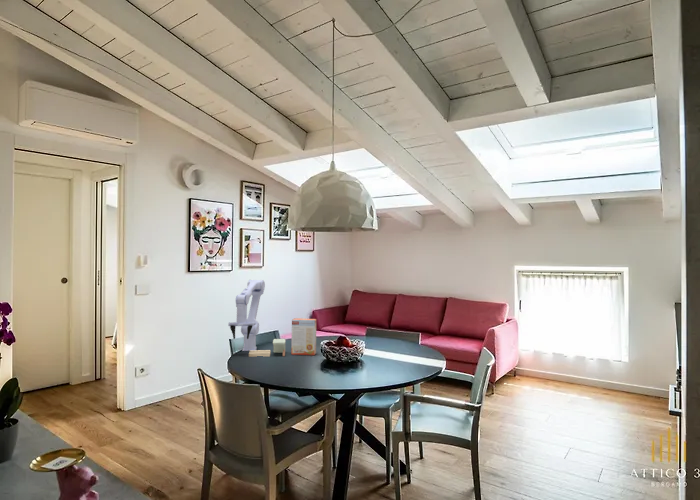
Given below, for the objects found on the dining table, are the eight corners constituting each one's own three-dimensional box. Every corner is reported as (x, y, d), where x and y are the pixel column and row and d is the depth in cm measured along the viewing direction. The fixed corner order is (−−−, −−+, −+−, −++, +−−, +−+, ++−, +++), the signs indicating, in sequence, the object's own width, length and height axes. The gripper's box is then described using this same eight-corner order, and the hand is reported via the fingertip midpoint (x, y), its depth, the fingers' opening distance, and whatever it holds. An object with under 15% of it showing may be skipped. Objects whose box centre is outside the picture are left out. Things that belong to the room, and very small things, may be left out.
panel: (250, 354, 257) (250, 350, 257) (270, 354, 259) (270, 350, 259) (248, 357, 249) (248, 353, 249) (269, 357, 251) (269, 353, 251)
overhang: (273, 352, 262) (273, 338, 262) (285, 351, 263) (285, 338, 263) (272, 356, 250) (272, 342, 250) (284, 356, 251) (285, 342, 251)
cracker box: (316, 353, 261) (316, 318, 261) (314, 355, 255) (315, 319, 255) (293, 352, 262) (294, 317, 263) (290, 354, 256) (291, 319, 257)
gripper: (227, 315, 248) (227, 339, 248) (253, 316, 250) (253, 339, 250) (229, 314, 255) (229, 337, 255) (254, 314, 257) (254, 337, 257)
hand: (241, 338), depth 253 cm, fingers open, 7 cm apart
